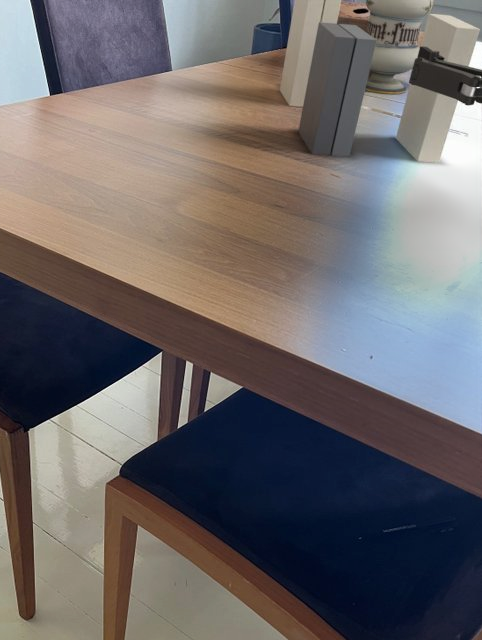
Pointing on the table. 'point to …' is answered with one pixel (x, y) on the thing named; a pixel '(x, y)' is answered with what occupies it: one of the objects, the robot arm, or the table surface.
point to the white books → (304, 45)
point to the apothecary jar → (394, 40)
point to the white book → (430, 107)
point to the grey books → (335, 88)
